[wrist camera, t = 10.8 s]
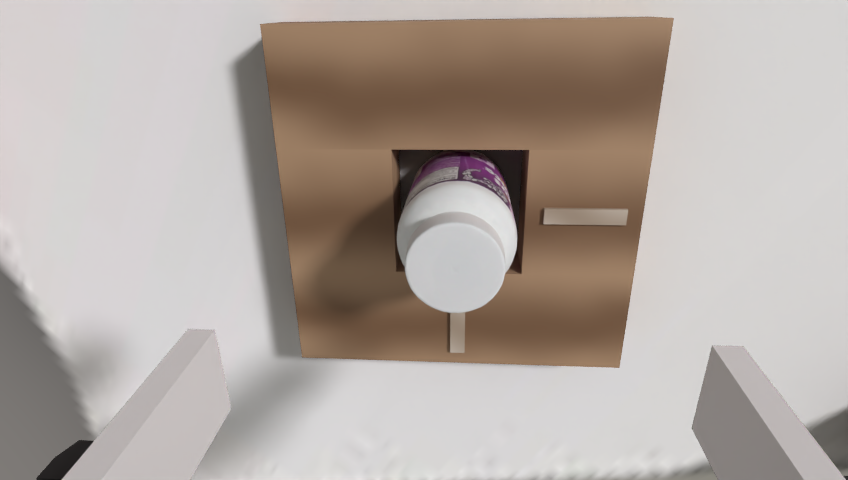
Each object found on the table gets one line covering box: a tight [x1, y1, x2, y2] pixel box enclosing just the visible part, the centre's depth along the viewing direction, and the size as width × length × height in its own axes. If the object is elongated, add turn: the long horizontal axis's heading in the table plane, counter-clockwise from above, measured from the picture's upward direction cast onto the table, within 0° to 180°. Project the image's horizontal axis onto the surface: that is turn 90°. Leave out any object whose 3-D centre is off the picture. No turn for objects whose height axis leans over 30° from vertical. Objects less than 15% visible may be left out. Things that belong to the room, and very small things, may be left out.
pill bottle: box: [397, 150, 517, 313], centre depth 26 cm, size 5×5×10 cm
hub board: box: [260, 17, 674, 368], centre depth 28 cm, size 18×18×3 cm
